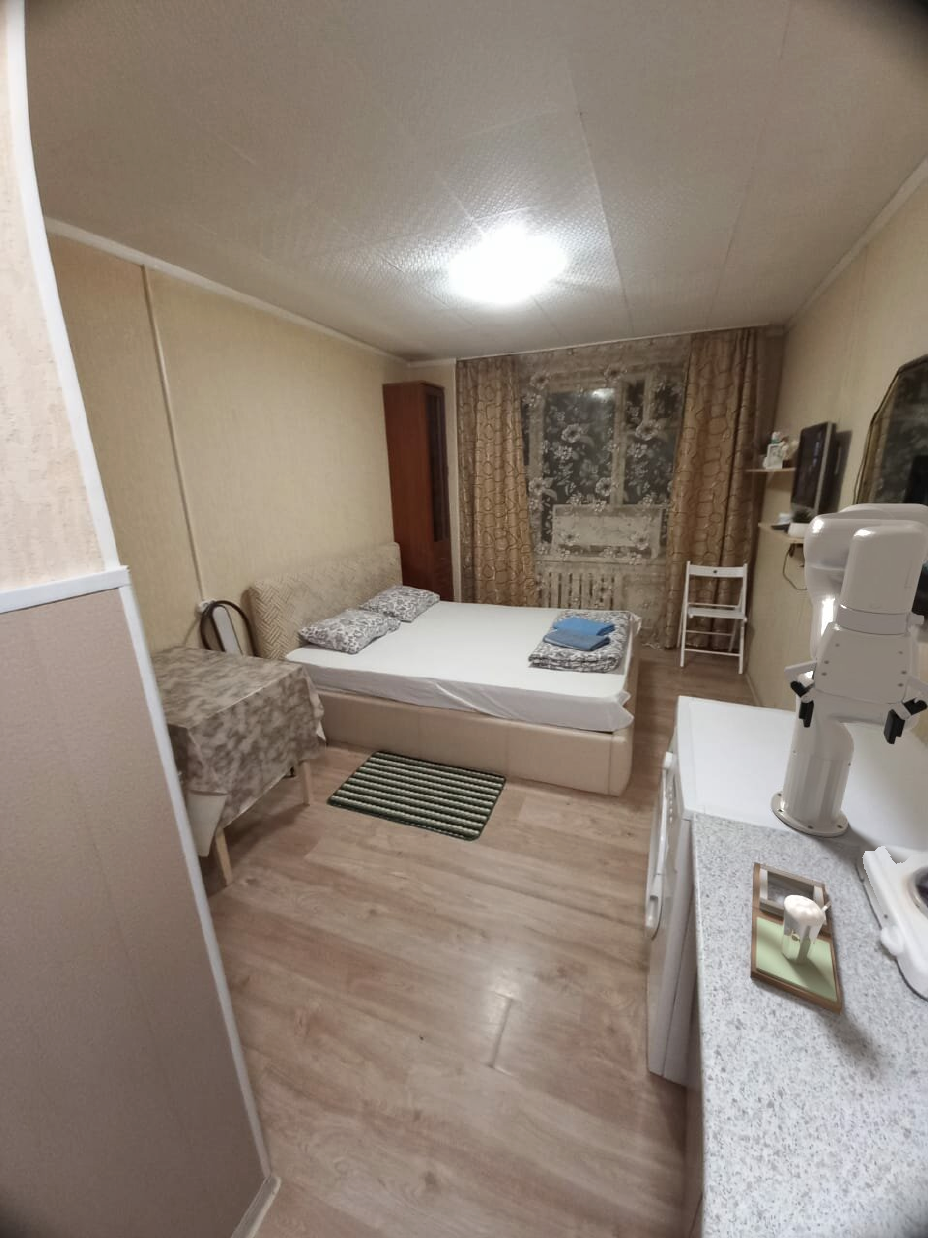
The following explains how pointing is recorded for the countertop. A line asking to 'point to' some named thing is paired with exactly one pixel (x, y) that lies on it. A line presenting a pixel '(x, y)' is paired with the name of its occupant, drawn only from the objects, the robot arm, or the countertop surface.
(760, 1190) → the countertop surface
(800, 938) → the milkshake
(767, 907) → the board
